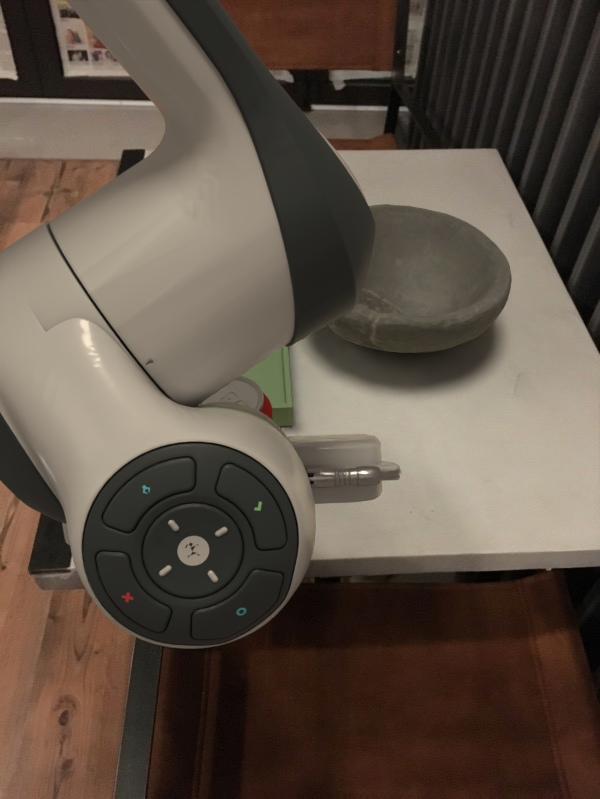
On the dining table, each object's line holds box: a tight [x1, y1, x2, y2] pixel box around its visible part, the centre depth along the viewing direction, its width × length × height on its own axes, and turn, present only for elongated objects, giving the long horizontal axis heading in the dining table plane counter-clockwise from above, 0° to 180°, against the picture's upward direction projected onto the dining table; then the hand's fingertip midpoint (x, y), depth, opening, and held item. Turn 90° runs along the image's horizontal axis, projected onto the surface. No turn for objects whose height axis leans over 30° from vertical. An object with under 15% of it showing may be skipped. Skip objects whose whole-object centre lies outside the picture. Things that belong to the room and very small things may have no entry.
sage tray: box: [241, 346, 294, 427], centre depth 73 cm, size 15×15×3 cm
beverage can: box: [200, 376, 273, 420], centre depth 59 cm, size 7×7×12 cm
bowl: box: [327, 203, 513, 354], centre depth 77 cm, size 23×22×10 cm
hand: (231, 457), depth 51 cm, fingers open, 8 cm apart
